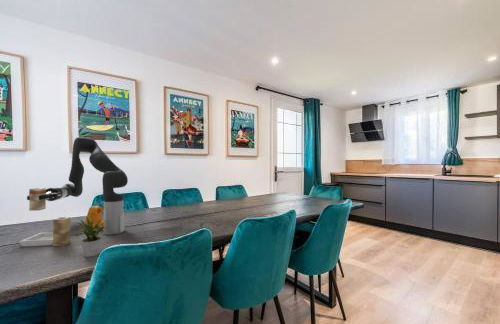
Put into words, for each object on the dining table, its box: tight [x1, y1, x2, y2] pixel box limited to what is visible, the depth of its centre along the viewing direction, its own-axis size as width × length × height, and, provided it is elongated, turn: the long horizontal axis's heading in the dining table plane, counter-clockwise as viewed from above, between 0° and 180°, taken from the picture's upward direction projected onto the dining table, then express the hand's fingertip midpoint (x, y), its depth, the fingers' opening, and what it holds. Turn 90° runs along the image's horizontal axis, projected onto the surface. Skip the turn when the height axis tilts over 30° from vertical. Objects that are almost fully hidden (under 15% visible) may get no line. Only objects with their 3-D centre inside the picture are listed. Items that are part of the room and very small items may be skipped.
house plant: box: [70, 216, 109, 258], centre depth 95 cm, size 14×14×16 cm
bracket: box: [83, 205, 104, 229], centre depth 137 cm, size 11×7×12 cm, turn 171°
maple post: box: [28, 187, 47, 212], centre depth 120 cm, size 5×5×11 cm
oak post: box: [52, 216, 71, 247], centre depth 107 cm, size 4×4×12 cm
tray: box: [19, 231, 53, 248], centre depth 111 cm, size 13×13×2 cm
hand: (33, 197), depth 117 cm, fingers closed on maple post, 4 cm apart
